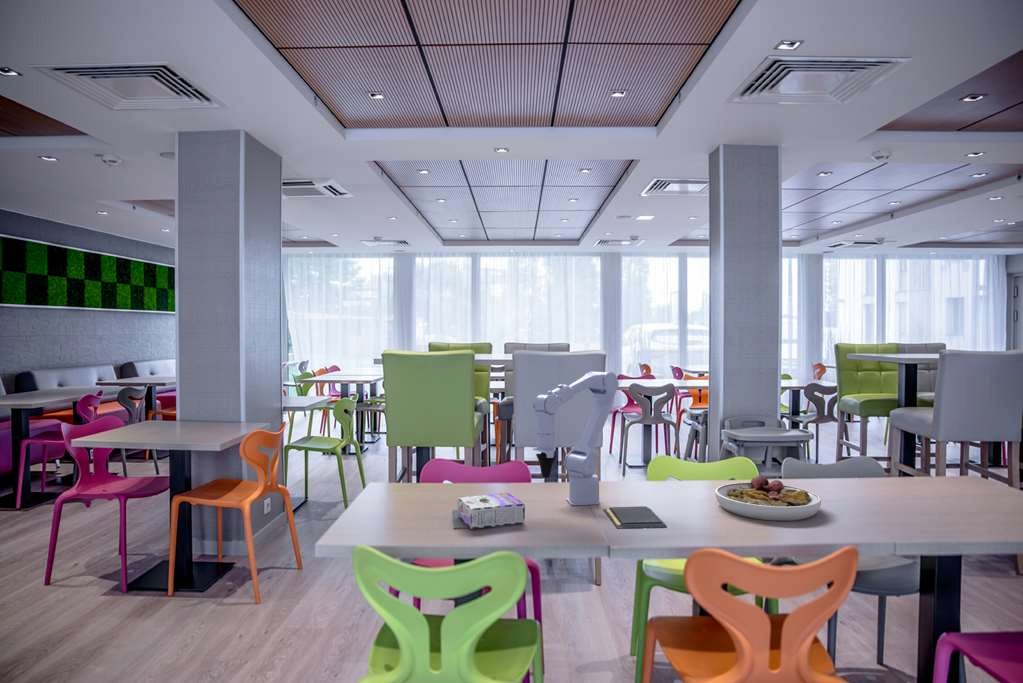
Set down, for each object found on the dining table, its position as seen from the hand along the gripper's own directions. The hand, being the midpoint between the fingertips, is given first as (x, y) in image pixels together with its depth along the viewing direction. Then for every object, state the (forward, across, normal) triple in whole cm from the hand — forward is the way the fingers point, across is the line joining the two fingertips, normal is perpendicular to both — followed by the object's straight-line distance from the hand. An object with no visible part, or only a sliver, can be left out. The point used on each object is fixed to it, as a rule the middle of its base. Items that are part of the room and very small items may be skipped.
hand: (545, 477), depth 187 cm
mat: (+11, +5, -21) cm, 24 cm away
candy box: (+8, +6, -10) cm, 14 cm away
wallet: (+11, +12, +24) cm, 29 cm away
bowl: (+10, +10, +68) cm, 69 cm away
